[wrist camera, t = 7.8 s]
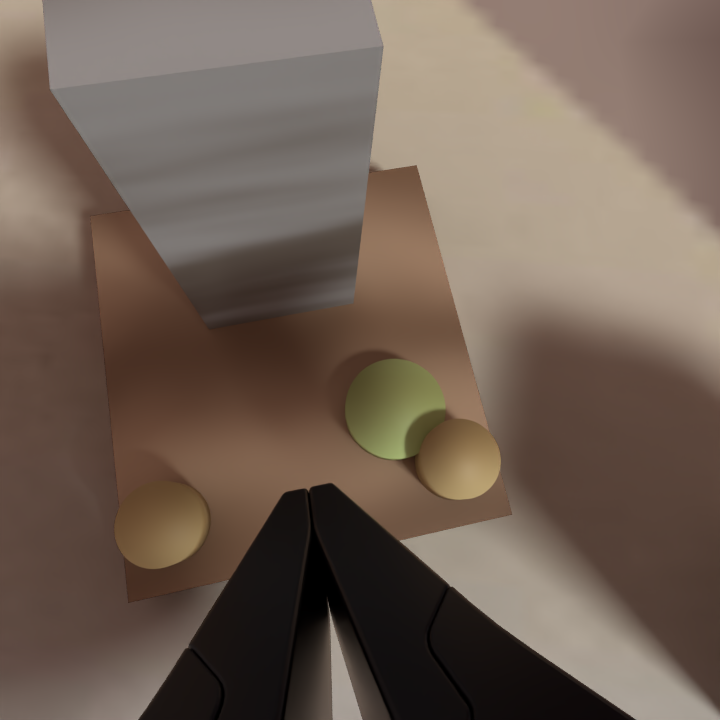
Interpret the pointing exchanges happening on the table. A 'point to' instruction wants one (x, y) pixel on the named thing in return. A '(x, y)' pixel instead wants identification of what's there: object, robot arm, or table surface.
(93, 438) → the table surface
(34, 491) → the table surface
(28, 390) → the table surface
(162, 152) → the wooden base with pillar
